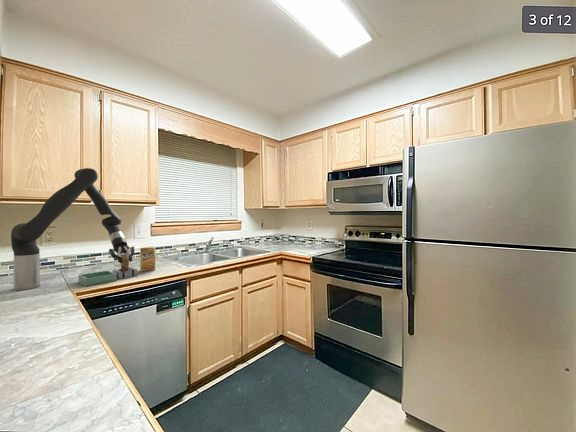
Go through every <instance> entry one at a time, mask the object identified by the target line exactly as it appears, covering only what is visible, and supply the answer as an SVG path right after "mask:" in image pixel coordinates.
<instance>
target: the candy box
mask: <svg viewBox="0 0 576 432" xmlns="http://www.w3.org/2000/svg"><path fill="white" fill-rule="evenodd" d="M139 249H140V251H139V252H140V253H139V255H140V257H139V258H140V259H139V262H140V263H139V264H140V267H139V269H140V272H144V271H156V246H148V247H147V246H146V247H144V246H143V247H140V248H139Z"/></svg>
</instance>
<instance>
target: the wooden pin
mask: <svg viewBox="0 0 576 432" xmlns="http://www.w3.org/2000/svg"><path fill="white" fill-rule="evenodd" d="M120 256H121V259H122V263H120V269H121V271H122V272H123V271H126V270H129V267H130V261H129V255H128V254H120Z"/></svg>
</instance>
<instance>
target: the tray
mask: <svg viewBox="0 0 576 432" xmlns="http://www.w3.org/2000/svg"><path fill="white" fill-rule="evenodd" d="M77 276H78V278H77V281H78V283H79V284H81V285H82V286H84V287H93V286H97V285H103V284H107V283H113V282H117V280H118V279H117V274H116V273H113V272H112V270H102V271H96V272H87V273H84V274H78V275H77Z"/></svg>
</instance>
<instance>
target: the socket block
mask: <svg viewBox="0 0 576 432" xmlns="http://www.w3.org/2000/svg"><path fill="white" fill-rule="evenodd" d="M111 272H113V273H116V274H117V280H122V279H128V278H132V277H137V276H138V269H137V268H134V267H131V266H129V270H126V271H123V272H122V271H121V268H118V269H116V268H115V269H112V270H111Z"/></svg>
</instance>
